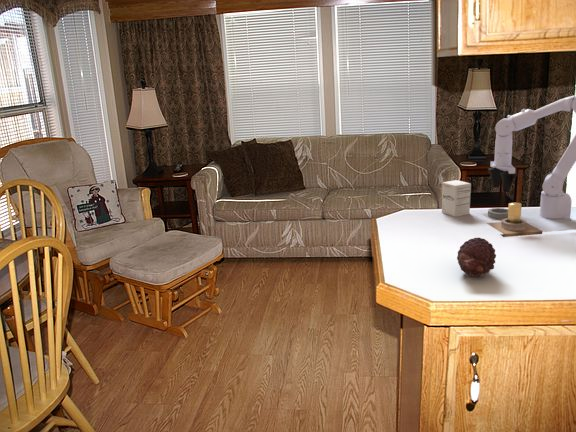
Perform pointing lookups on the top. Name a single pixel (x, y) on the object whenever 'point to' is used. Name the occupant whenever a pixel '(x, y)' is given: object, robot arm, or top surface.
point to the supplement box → (456, 198)
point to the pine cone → (476, 257)
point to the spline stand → (497, 214)
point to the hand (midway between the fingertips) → (501, 189)
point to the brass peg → (514, 213)
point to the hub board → (516, 233)
